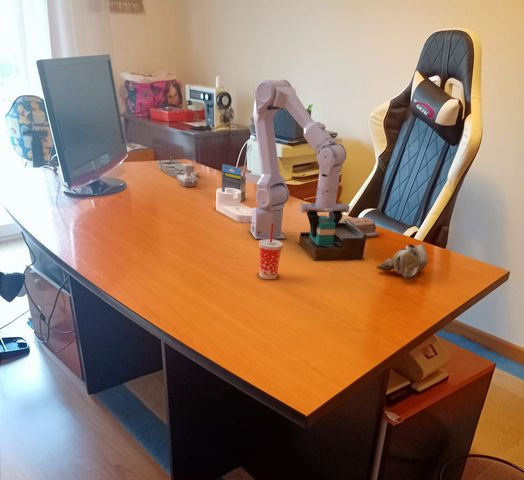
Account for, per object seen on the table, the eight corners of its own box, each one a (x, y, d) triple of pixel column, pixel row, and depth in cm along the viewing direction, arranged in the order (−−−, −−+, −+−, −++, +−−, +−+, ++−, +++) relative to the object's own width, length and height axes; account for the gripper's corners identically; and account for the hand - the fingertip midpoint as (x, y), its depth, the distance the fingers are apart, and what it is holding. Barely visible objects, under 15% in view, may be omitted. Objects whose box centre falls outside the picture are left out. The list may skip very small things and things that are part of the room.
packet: (318, 245, 150) (320, 223, 147) (309, 236, 157) (311, 215, 154) (332, 245, 152) (336, 223, 148) (323, 236, 158) (326, 215, 155)
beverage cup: (272, 282, 133) (276, 229, 126) (252, 276, 136) (255, 223, 129) (283, 275, 138) (289, 223, 131) (264, 269, 140) (268, 218, 133)
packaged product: (363, 213, 177) (381, 222, 170) (361, 227, 180) (378, 237, 172) (319, 217, 170) (335, 226, 162) (317, 231, 172) (333, 241, 165)
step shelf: (314, 260, 149) (318, 235, 145) (299, 243, 161) (301, 219, 157) (362, 259, 153) (366, 234, 149) (343, 242, 165) (347, 219, 161)
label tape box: (245, 199, 200) (247, 166, 193) (239, 201, 197) (241, 168, 190) (226, 195, 203) (228, 162, 197) (220, 197, 200) (221, 164, 194)
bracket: (211, 207, 188) (212, 188, 184) (232, 205, 192) (233, 186, 189) (240, 223, 174) (241, 203, 170) (262, 220, 178) (263, 201, 175)
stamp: (200, 187, 211) (200, 166, 206) (186, 189, 207) (186, 167, 203) (189, 182, 217) (189, 161, 212) (175, 183, 213) (175, 162, 209)
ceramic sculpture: (441, 243, 142) (412, 258, 133) (435, 273, 147) (406, 288, 138) (408, 233, 148) (377, 246, 139) (403, 261, 153) (373, 276, 144)
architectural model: (178, 180, 219) (178, 167, 217) (153, 167, 236) (152, 155, 234) (202, 178, 225) (203, 165, 223) (176, 165, 242) (176, 154, 240)
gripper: (307, 193, 142) (302, 241, 148) (356, 193, 145) (349, 240, 152) (299, 186, 147) (294, 233, 154) (346, 187, 151) (340, 232, 158)
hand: (321, 236), depth 154 cm, fingers closed on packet, 4 cm apart
